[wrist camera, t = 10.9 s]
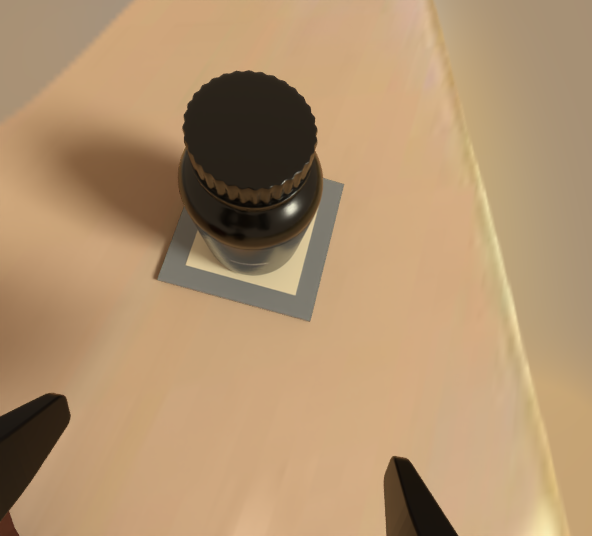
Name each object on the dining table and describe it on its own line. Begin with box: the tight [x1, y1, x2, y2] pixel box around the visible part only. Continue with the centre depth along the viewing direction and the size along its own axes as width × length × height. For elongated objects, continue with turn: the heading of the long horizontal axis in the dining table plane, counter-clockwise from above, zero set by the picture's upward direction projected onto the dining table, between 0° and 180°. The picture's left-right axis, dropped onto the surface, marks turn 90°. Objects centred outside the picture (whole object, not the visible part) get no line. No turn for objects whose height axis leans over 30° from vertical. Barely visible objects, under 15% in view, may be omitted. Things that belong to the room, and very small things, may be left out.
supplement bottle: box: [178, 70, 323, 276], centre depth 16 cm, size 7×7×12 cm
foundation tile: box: [157, 178, 344, 322], centre depth 23 cm, size 11×11×1 cm
